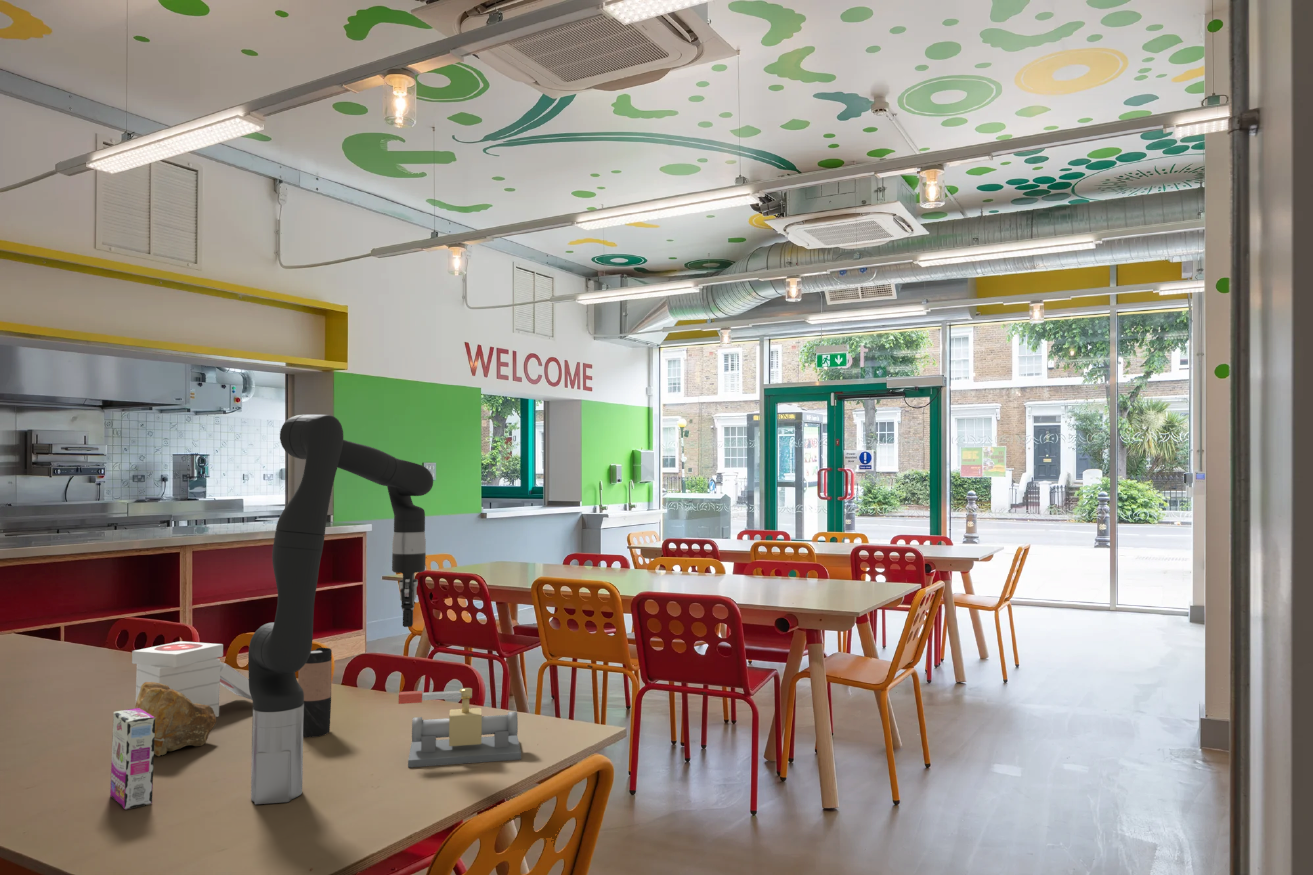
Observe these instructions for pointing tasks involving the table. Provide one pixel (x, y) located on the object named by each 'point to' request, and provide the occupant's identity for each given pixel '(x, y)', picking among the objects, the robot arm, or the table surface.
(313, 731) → the travel mug
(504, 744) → the valve stand
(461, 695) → the lever
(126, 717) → the candy bar box
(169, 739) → the rough brown rock
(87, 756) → the table surface
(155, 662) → the pizza boxes
